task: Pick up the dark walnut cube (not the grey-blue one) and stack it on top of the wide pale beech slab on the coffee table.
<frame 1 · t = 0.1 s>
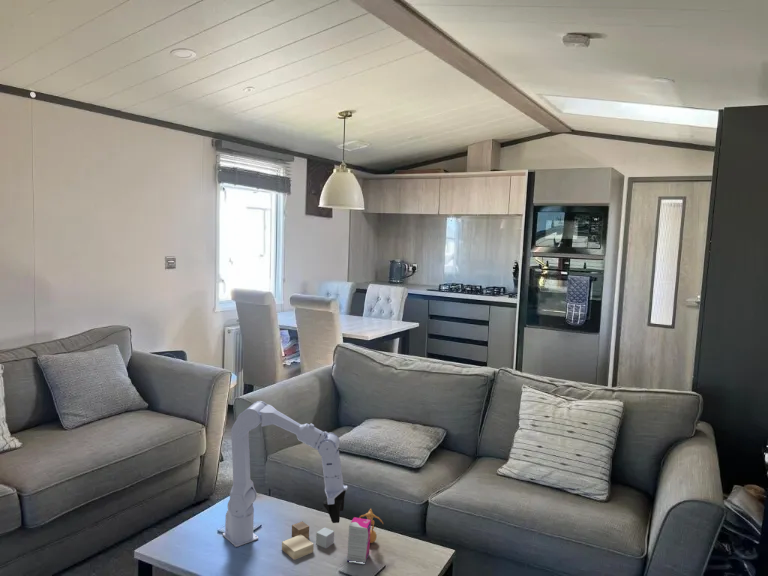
hand: (338, 516, 172), 10 cm above the table, tool pointing down, fingers open, 7 cm apart
beech slab: (297, 552, 171), on the table
figurine: (369, 544, 176), on the table
grey cube: (325, 543, 175), on the table
supplement box: (358, 559, 168), on the table
walnut cube: (300, 537, 179), on the table
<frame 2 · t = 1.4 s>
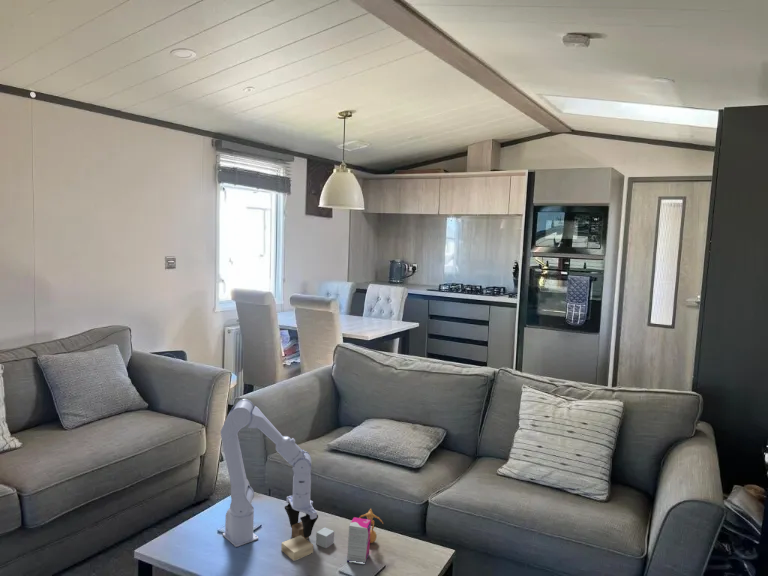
hand: (300, 531, 178), 2 cm above the table, tool pointing down, fingers open, 7 cm apart
nothing on the table moved.
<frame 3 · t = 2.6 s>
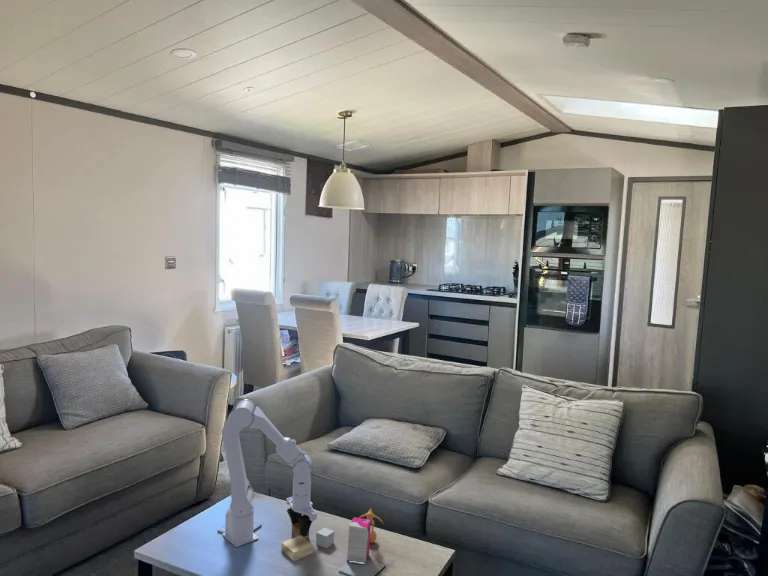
hand: (300, 532, 178), 1 cm above the table, tool pointing down, fingers closed on walnut cube, 4 cm apart
walnut cube: (300, 537, 179), on the table, touching gripper
everything else where it was.
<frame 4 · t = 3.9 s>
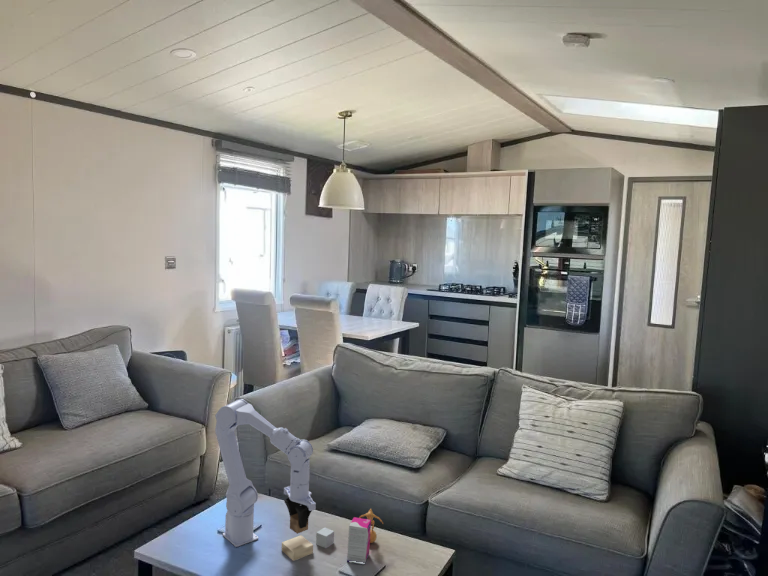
hand: (298, 524, 170), 8 cm above the table, tool pointing down, fingers closed on walnut cube, 4 cm apart
walnut cube: (298, 528, 171), point 7 cm above the table, touching gripper
everything else where it was.
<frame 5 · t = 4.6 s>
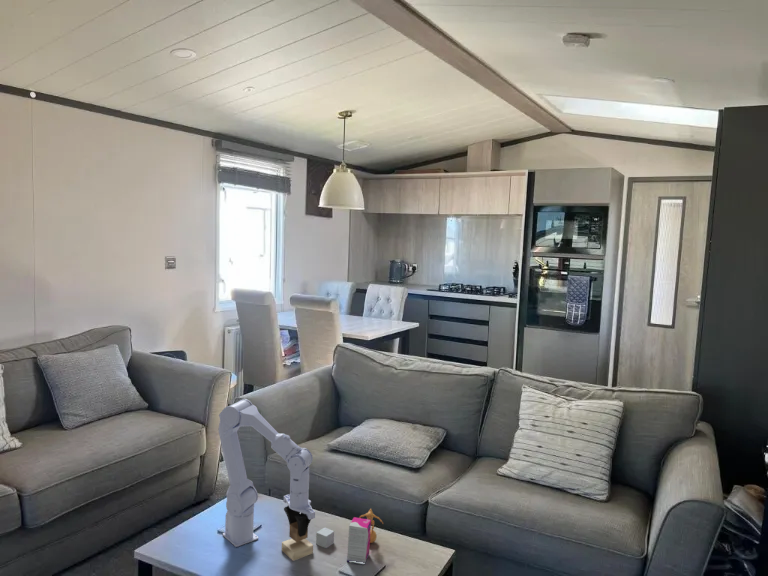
hand: (298, 532, 170), 6 cm above the table, tool pointing down, fingers closed on walnut cube, 4 cm apart
walnut cube: (298, 537, 171), point 4 cm above the table, touching gripper
everything else where it was.
when the fingers open (6 cm above the table, at t = 5.2 s): walnut cube drops 2 cm, resting on beech slab.
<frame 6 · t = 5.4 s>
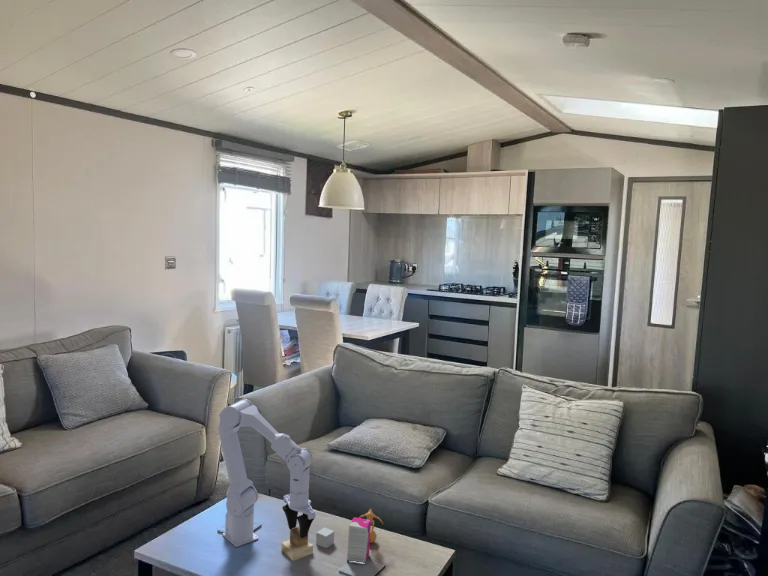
hand: (298, 532, 170), 6 cm above the table, tool pointing down, fingers open, 6 cm apart
beech slab: (297, 553, 170), on the table, touching walnut cube
walnut cube: (298, 542, 171), point 3 cm above the table, touching beech slab
everything else where it was.
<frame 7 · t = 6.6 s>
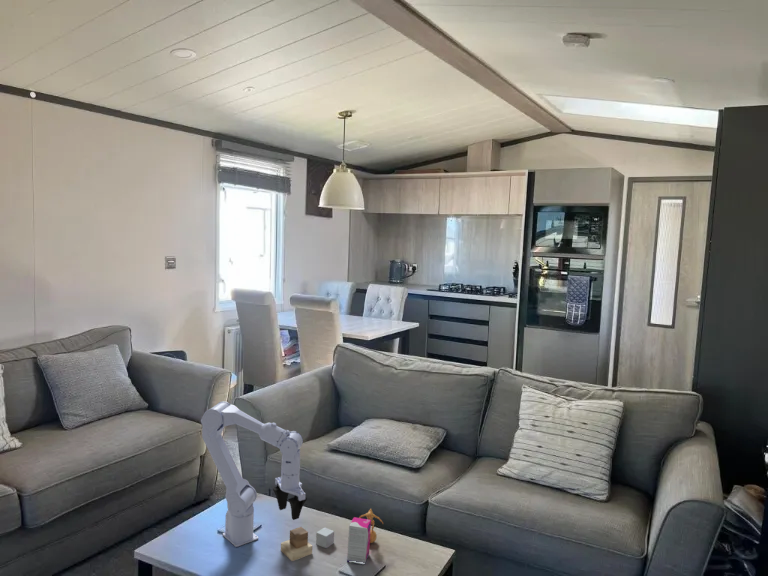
hand: (288, 513, 174), 10 cm above the table, tool pointing down, fingers open, 7 cm apart
nothing on the table moved.
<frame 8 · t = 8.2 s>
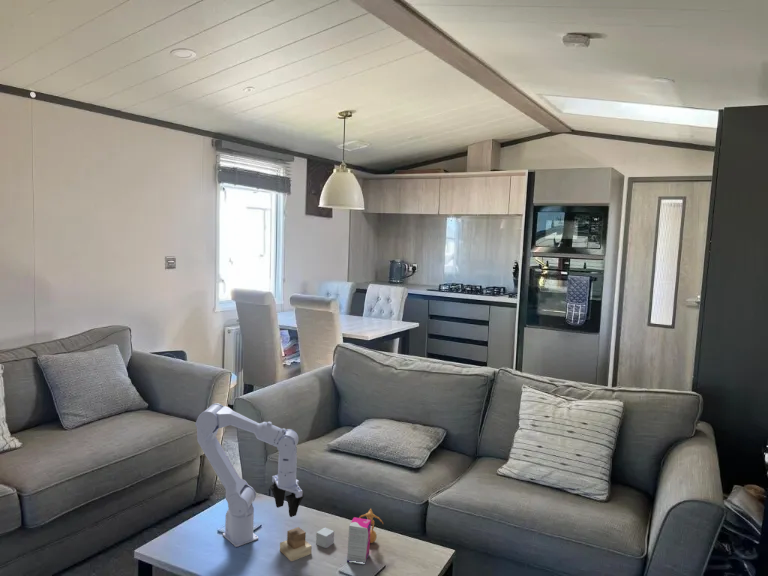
hand: (286, 511, 175), 10 cm above the table, tool pointing down, fingers open, 7 cm apart
at the end: walnut cube 0.1 cm off-centre on the beech slab, point 3.0 cm above the beech slab's base; walnut cube tilted 0°; grey cube moved 0.1 cm from its start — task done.
